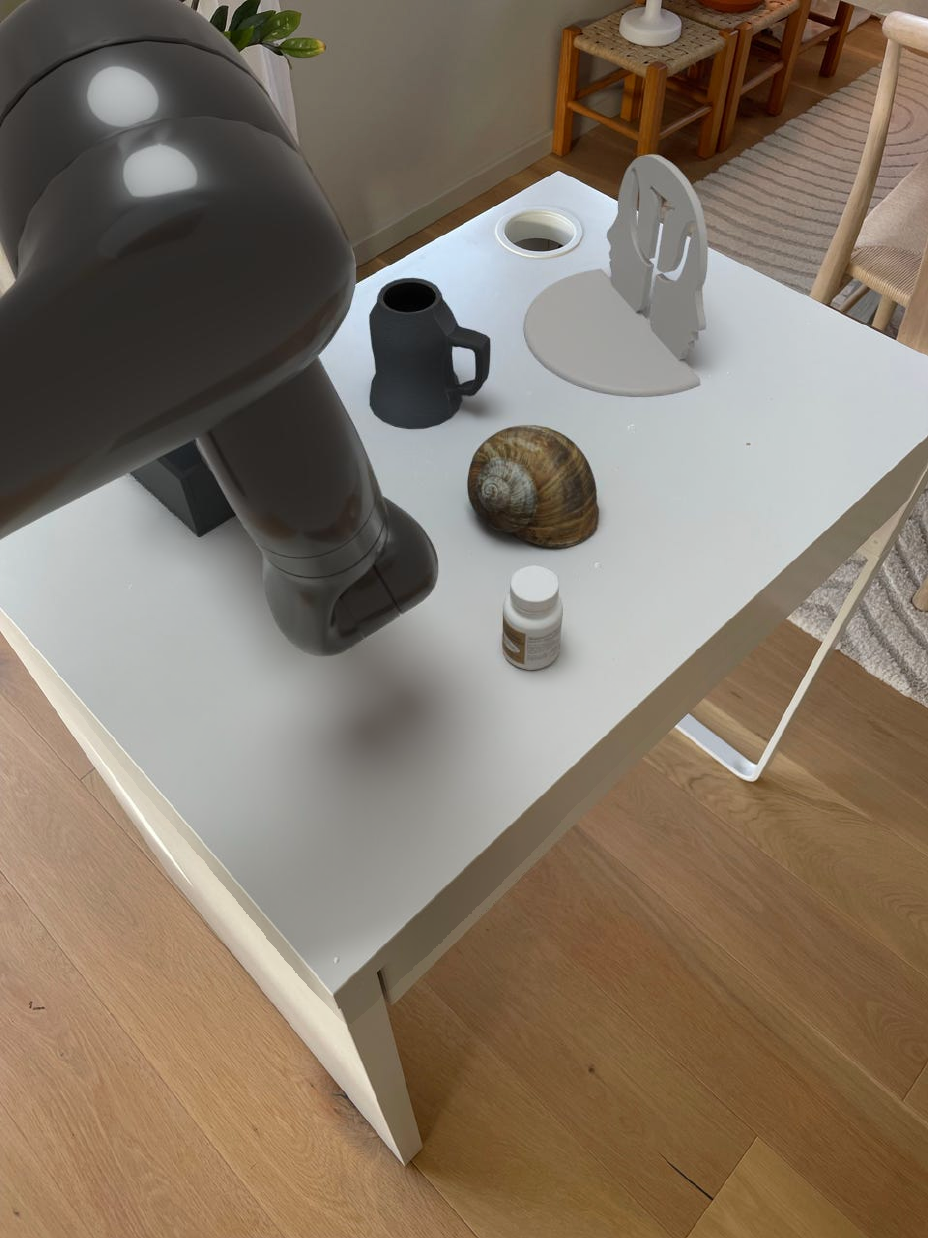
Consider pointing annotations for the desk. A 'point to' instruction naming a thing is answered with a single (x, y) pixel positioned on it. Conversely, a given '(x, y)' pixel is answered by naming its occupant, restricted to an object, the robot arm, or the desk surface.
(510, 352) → the desk surface
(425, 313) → the mug
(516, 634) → the pill bottle
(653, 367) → the ornament
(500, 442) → the seashell
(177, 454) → the bin
